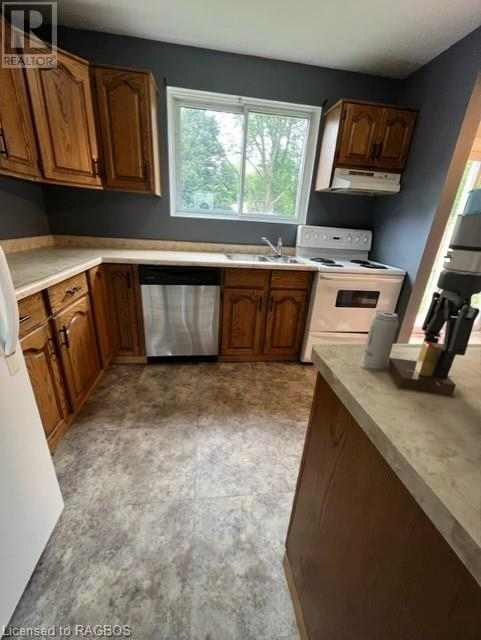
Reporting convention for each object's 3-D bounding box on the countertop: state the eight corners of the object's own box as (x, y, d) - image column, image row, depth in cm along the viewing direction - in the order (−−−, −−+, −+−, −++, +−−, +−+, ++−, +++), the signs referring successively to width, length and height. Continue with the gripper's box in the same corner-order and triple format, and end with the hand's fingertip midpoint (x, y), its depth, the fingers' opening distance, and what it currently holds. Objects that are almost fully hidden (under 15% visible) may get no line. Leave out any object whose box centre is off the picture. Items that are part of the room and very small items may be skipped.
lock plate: (435, 374, 70) (439, 363, 69) (459, 400, 60) (464, 388, 59) (386, 367, 72) (389, 356, 71) (401, 392, 62) (404, 380, 61)
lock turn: (439, 373, 65) (450, 343, 62) (445, 378, 62) (455, 348, 60) (414, 369, 66) (423, 340, 63) (418, 375, 63) (428, 345, 61)
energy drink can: (359, 359, 76) (370, 308, 70) (382, 362, 75) (395, 311, 69) (364, 370, 70) (376, 316, 65) (389, 373, 69) (404, 318, 64)
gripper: (423, 263, 65) (399, 349, 73) (471, 279, 47) (432, 391, 55) (458, 265, 64) (430, 352, 72) (521, 283, 46) (474, 397, 54)
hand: (431, 369), depth 63 cm, fingers open, 7 cm apart
